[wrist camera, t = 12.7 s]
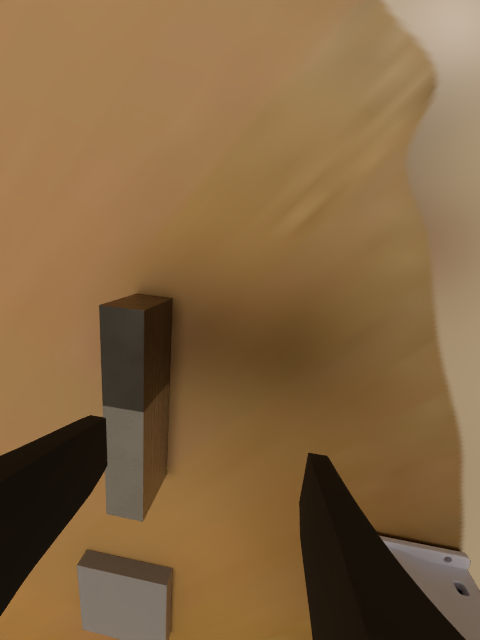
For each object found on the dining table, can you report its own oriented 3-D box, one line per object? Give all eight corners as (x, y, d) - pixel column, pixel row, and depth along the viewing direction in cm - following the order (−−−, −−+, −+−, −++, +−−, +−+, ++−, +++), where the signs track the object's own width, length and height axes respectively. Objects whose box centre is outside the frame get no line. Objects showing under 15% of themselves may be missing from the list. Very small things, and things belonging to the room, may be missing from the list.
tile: (166, 585, 23) (165, 650, 25) (174, 563, 25) (172, 626, 27) (76, 565, 24) (82, 629, 26) (89, 545, 26) (94, 607, 28)
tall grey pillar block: (136, 293, 19) (99, 305, 15) (172, 298, 18) (144, 310, 15) (136, 468, 22) (106, 513, 18) (166, 474, 22) (142, 521, 18)
